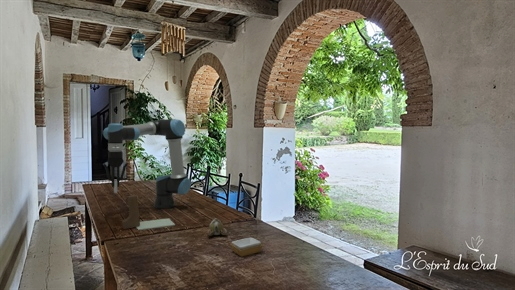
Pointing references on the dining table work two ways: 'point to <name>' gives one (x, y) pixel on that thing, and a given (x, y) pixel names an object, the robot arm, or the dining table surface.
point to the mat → (155, 224)
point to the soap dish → (246, 246)
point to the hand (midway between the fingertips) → (115, 192)
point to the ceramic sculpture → (216, 228)
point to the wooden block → (132, 213)
